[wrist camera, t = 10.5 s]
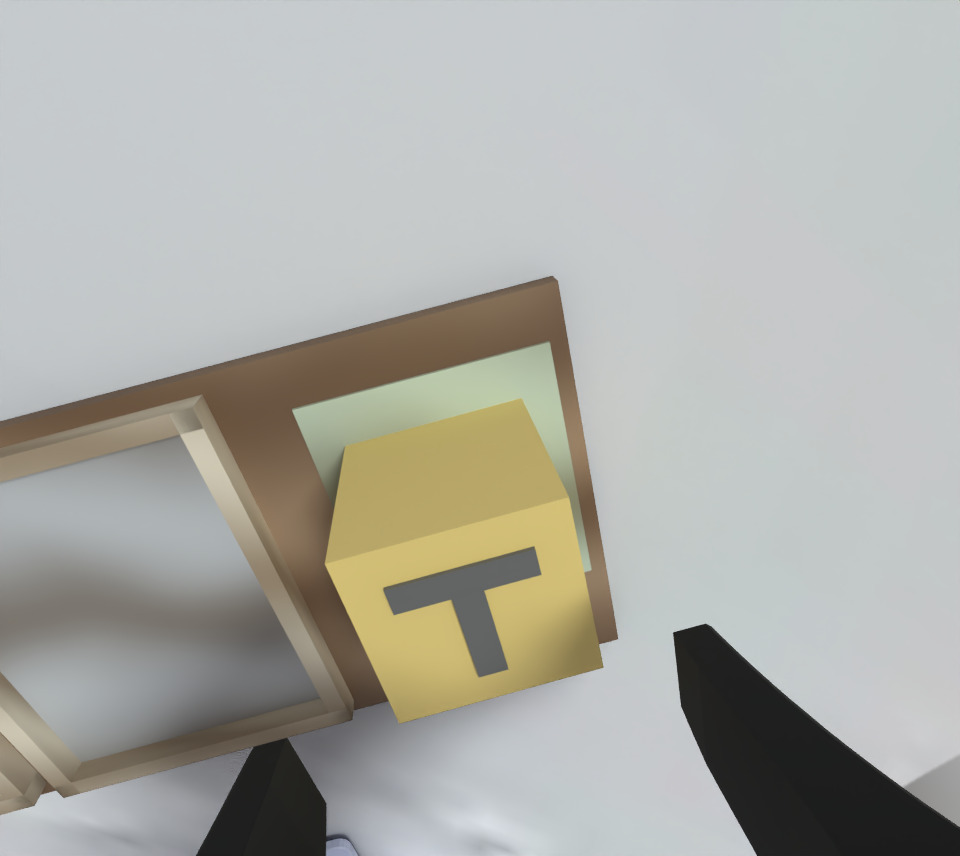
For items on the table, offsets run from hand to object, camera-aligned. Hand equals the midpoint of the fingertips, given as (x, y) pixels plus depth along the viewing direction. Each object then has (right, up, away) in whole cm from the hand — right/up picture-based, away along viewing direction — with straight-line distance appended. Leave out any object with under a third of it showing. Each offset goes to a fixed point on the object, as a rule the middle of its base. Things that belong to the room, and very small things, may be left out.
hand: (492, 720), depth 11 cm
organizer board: (-12, 0, +7) cm, 14 cm away
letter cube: (-1, +3, +6) cm, 7 cm away
